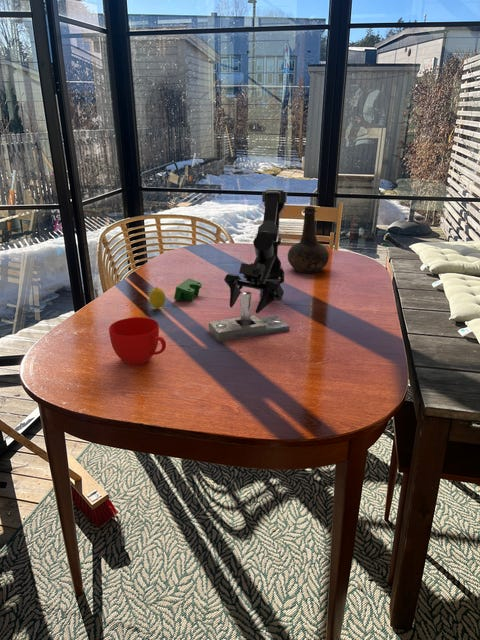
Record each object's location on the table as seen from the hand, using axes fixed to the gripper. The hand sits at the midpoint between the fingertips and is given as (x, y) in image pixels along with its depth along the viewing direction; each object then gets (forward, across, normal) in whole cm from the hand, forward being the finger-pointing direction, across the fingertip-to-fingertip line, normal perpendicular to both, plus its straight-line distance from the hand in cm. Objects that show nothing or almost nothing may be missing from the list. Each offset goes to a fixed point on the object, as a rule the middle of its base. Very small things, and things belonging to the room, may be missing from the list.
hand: (243, 309), depth 143 cm
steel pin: (+4, 0, +6) cm, 8 cm away
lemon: (+4, -36, +7) cm, 37 cm away
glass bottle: (-47, -12, +58) cm, 76 cm away
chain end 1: (+6, -2, +5) cm, 8 cm away
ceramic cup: (+28, -13, -17) cm, 35 cm away
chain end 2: (+2, +2, +9) cm, 9 cm away
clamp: (-6, -34, +18) cm, 39 cm away
